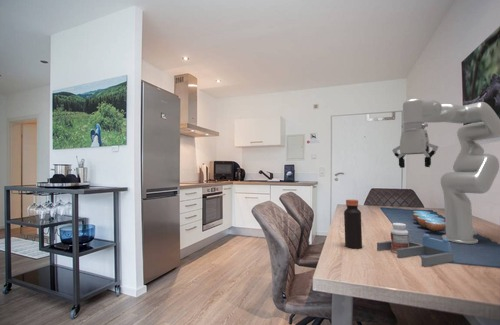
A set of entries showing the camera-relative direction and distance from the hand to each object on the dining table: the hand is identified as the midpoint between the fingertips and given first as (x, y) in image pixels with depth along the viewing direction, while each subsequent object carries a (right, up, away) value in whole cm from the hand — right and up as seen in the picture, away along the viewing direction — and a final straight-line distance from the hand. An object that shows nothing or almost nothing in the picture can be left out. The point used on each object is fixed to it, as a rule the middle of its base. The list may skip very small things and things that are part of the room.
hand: (414, 167), depth 104 cm
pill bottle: (-11, -34, -8) cm, 37 cm away
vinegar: (-26, -35, 0) cm, 43 cm away
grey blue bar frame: (-9, -34, -12) cm, 37 cm away
